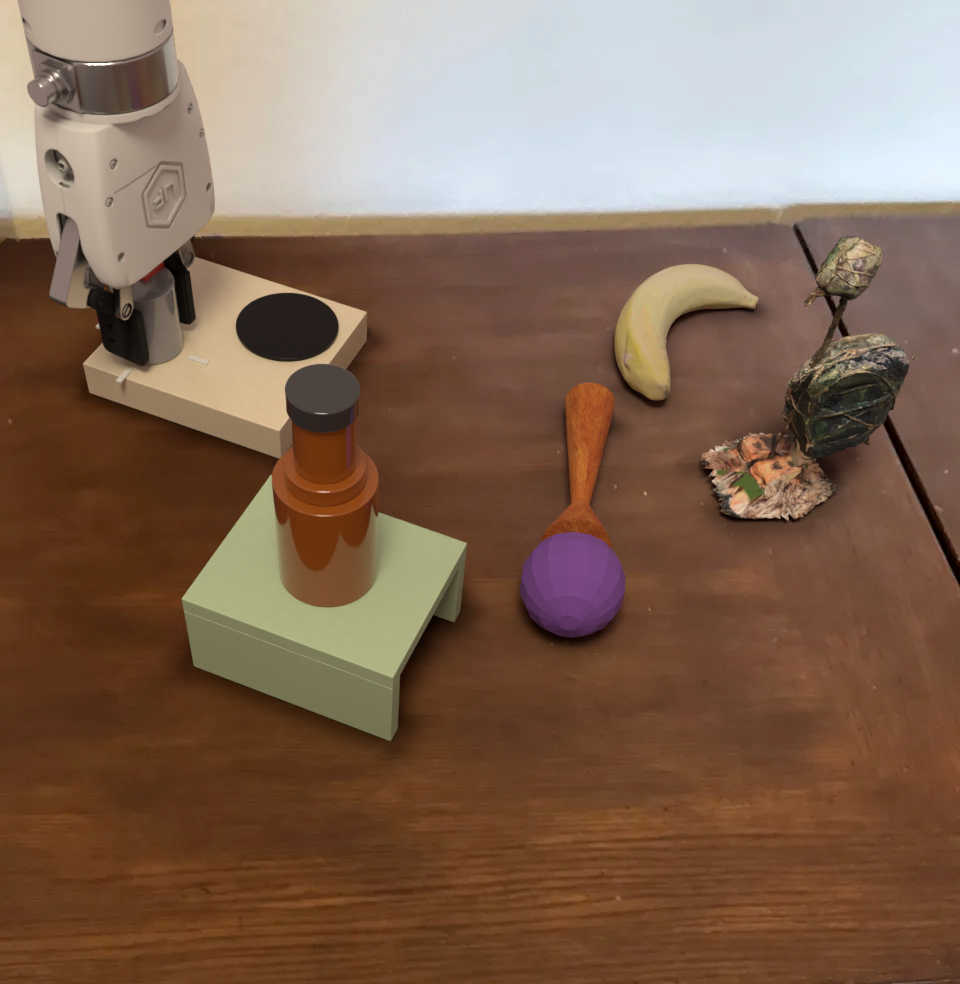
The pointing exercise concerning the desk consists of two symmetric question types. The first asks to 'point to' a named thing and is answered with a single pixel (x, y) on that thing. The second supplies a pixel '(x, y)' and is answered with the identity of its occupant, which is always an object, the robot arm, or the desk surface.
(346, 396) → the spice bottle
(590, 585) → the kendama
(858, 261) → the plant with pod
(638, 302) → the fruit
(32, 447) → the desk surface
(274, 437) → the hob
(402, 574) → the shelf
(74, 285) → the robot arm
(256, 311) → the burner
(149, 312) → the hob knob
